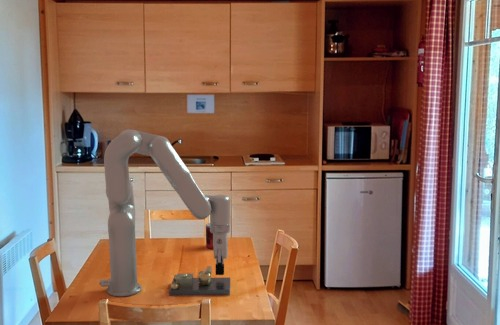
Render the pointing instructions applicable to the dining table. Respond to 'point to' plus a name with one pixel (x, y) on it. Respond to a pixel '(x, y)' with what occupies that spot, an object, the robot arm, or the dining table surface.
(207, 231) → the canned food
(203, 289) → the plate
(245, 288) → the dining table surface
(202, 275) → the lever handle
